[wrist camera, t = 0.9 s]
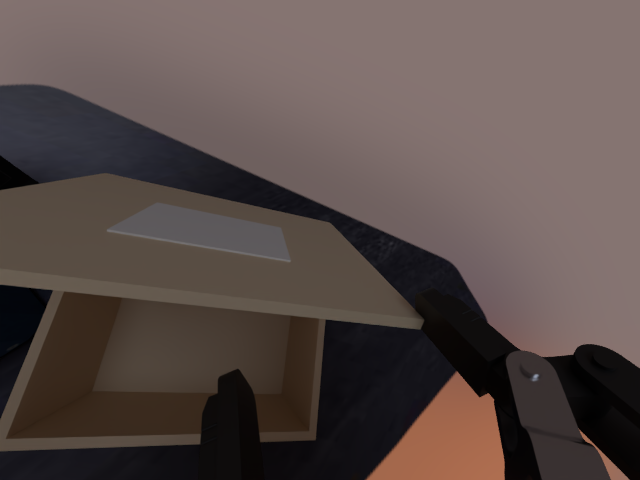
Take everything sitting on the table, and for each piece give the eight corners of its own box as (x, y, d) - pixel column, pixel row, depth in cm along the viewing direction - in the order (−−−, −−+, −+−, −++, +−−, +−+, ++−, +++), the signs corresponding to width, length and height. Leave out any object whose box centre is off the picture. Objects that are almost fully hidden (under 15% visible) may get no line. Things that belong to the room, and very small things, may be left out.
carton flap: (420, 329, 11) (425, 317, 11) (-271, 255, 6) (-280, 230, 6) (328, 227, 26) (330, 221, 26) (105, 179, 21) (105, 171, 21)
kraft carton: (284, 398, 32) (315, 439, 21) (86, 395, 26) (-13, 451, 15) (301, 255, 37) (332, 229, 27) (141, 226, 32) (99, 178, 21)
